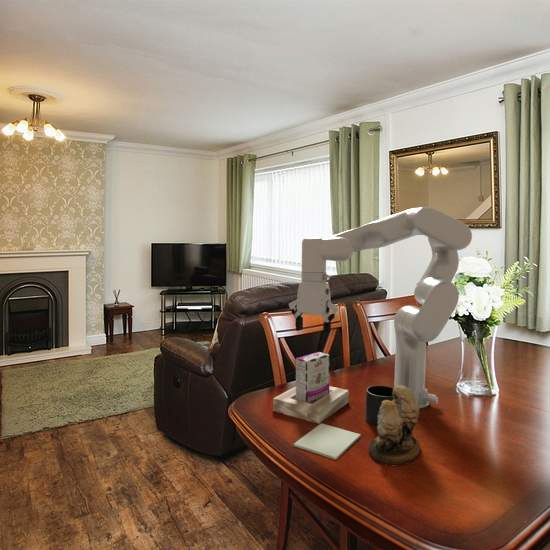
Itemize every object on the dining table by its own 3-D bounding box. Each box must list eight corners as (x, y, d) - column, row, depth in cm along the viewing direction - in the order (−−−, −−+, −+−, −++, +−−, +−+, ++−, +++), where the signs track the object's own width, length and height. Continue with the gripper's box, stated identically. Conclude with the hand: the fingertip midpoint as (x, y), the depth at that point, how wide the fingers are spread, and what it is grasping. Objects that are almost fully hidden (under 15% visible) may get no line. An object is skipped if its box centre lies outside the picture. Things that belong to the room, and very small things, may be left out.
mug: (404, 415, 133) (405, 386, 132) (392, 430, 122) (393, 399, 122) (374, 408, 138) (375, 380, 137) (360, 422, 127) (361, 392, 127)
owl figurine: (384, 431, 123) (386, 371, 121) (427, 442, 116) (430, 379, 115) (359, 457, 107) (362, 390, 106) (407, 472, 101) (411, 401, 100)
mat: (360, 436, 119) (360, 434, 119) (335, 459, 106) (335, 457, 106) (321, 425, 125) (321, 423, 125) (293, 446, 113) (293, 443, 113)
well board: (348, 402, 143) (348, 390, 142) (319, 423, 126) (319, 410, 126) (305, 391, 152) (305, 380, 151) (273, 410, 135) (273, 398, 135)
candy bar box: (317, 399, 145) (318, 351, 143) (329, 404, 141) (330, 354, 140) (294, 408, 137) (295, 357, 136) (306, 413, 133) (307, 361, 132)
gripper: (344, 278, 133) (343, 333, 135) (296, 275, 143) (295, 326, 145) (333, 280, 127) (332, 338, 129) (283, 276, 137) (282, 330, 138)
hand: (312, 332), depth 137 cm, fingers open, 9 cm apart
